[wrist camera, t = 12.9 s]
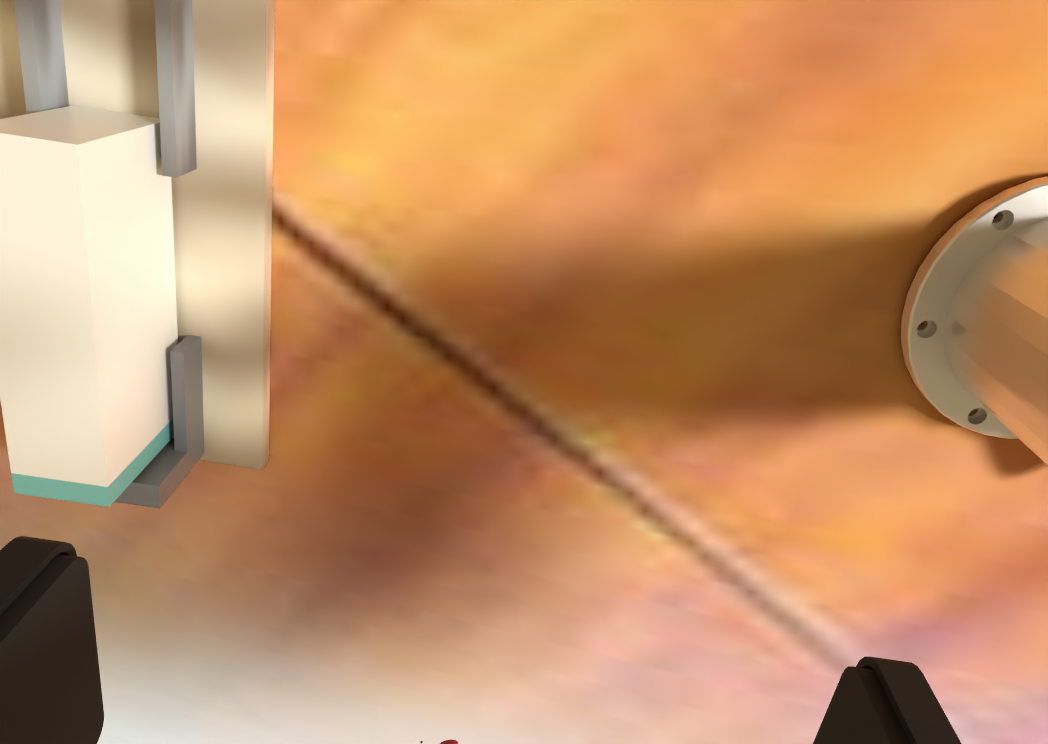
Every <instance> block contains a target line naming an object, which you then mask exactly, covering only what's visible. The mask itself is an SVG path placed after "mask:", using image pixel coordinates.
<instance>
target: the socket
mask: <svg viewBox="0 0 1048 744" xmlns="http://www.w3.org/2000/svg"><path fill="white" fill-rule="evenodd" d="M170 359H171V381H172V403H173V425H174V436H173V438H172V439H171V440H170V441H169V442H168V443H167V444H166V445H165V446H164V447H163V449H162V450H161V451H160V452H159V453H158V454H157V455H156V456H155V457H154V458H153V460H152V461H151V462H150V463H149V464H148V465H147V466H146V467H145V468H144V469H143V471H142V472H141V473H140V474H139V475H138V476H137V477H136V478H135V479H134V480H133V482H132V483H131V484H130V485H129V486H128V487H127V488H126V489H125V490H124V491H123V492H122V494H121V495H120V496H119V497H118V498H117V499H116V500H115V501H114V502H120V503H127V504H134V505H141V506H148V507H155V508H160V507H161V506H162V505H163V504H164V502H165V501H166V500H167V499H168V497H169V496H170V495H171V494H172V492H173V491H174V490H175V489H176V487H177V486H178V485H179V484H180V483H181V481H182V480H183V479H184V478H185V476H186V475H187V474H188V473H189V471H190V470H191V469H192V468H193V466H194V465H195V464H196V463H197V461H198V460H199V459H200V458H201V456H202V455H203V454H204V418H203V381H202V345H201V337H200V336H193V335H188V336H187V337H186V338H185V339H183V340H182V341H181V342H180V343H179V344H178V345H177V346H175V347H174V348H173V349H172V350H171V351H170Z"/></svg>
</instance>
